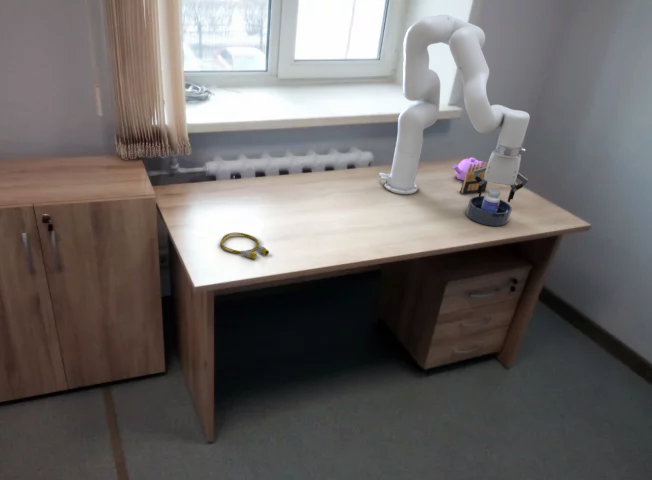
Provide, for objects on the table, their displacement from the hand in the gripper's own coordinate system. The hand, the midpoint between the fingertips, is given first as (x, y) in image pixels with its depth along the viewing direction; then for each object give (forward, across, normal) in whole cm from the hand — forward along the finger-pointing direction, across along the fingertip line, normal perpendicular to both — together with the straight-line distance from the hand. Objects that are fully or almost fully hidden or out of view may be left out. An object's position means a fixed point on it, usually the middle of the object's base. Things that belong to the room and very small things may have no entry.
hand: (494, 198), depth 182 cm
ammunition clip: (+7, +8, -21) cm, 24 cm away
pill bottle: (+7, +1, 0) cm, 7 cm away
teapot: (+7, +12, -32) cm, 35 cm away
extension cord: (+7, +67, +61) cm, 91 cm away
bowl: (+8, +1, 0) cm, 8 cm away
